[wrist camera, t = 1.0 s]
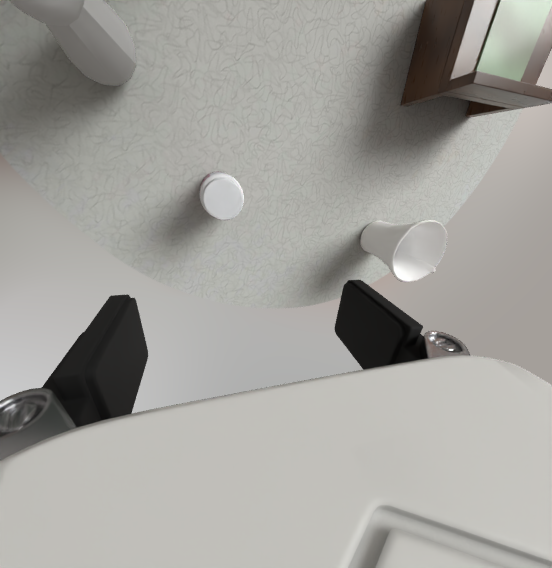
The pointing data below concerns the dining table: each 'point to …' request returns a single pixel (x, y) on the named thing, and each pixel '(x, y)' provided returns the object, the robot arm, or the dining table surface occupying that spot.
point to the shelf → (481, 54)
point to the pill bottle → (221, 195)
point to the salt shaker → (88, 36)
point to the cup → (406, 247)
